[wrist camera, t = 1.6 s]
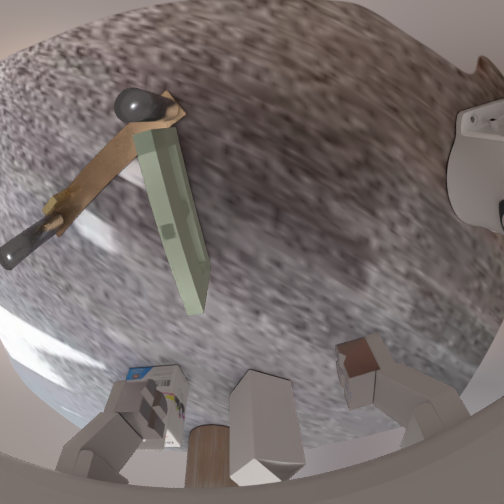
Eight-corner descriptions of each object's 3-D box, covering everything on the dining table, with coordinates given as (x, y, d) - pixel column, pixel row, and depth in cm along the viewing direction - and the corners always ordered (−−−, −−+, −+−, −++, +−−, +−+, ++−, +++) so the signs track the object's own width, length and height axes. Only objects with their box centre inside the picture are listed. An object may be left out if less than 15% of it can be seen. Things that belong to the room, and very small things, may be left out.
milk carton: (229, 394, 43) (229, 502, 26) (249, 368, 41) (256, 488, 24) (268, 404, 45) (279, 506, 28) (291, 379, 42) (311, 490, 25)
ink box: (142, 387, 42) (122, 463, 29) (129, 367, 40) (103, 446, 27) (190, 384, 42) (180, 467, 29) (179, 363, 40) (164, 450, 27)
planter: (188, 444, 51) (181, 540, 30) (190, 420, 47) (180, 533, 26) (236, 449, 52) (239, 544, 31) (245, 426, 48) (250, 538, 27)
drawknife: (168, 91, 26) (131, 76, 16) (187, 114, 27) (158, 109, 17) (46, 216, 30) (-8, 253, 20) (61, 234, 31) (11, 277, 21)
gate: (162, 130, 26) (132, 135, 18) (175, 127, 26) (150, 129, 18) (198, 268, 32) (187, 315, 24) (211, 266, 32) (203, 313, 24)
